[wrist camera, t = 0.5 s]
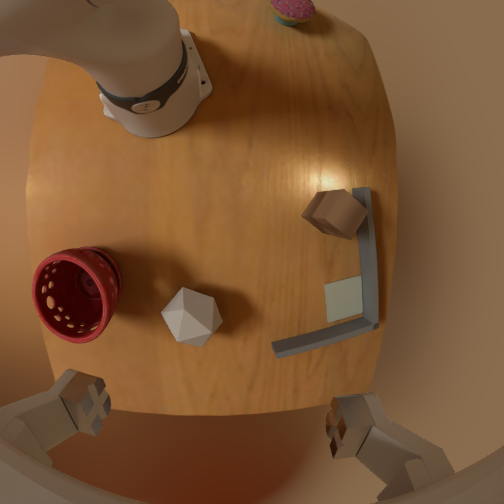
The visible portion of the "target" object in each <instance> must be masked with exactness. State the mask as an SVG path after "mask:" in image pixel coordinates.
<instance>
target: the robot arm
mask: <svg viewBox="0 0 504 504" xmlns="http://www.w3.org/2000/svg"><path fill="white" fill-rule="evenodd" d="M20 54H29V55H41V56H47V57H52V58H57V59H61V60H65V61H68V62H71V63H74V64H76V65H78V66H80V67H82V68H83V69H84V70H85V71H86V72H87V73H89V74H90V75H91V76H92V77H93V78H94V79H95V80H96V83H97V85H98V87H99V89H100V91H101V94H100V99H101V101H102V102H103V103H104V114H105V116H106V117H108V118H110V119H113V120H116V121H118V122H119V123H120V124H121V125H122V126H123V127H124V128H125V129H126V130H128V131H129V132H131V133H132V134H134V135H137V136H140V137H146V138H155V137H161V136H165V135H168V134H170V133H172V132H174V131H176V130H178V129H179V128H181V127H182V126H183V125H184V124H185V123H186V122H187V121H188V120H189V119H190V118H191V117H192V115H193V114H194V112H195V110H196V108H197V107H198V105H199V104H200V102H201V101H203V100H204V99H205V98H206V97H208V96H209V95H210V94H211V93H212V91H213V87H212V84H211V81H210V79H209V77H208V74H207V72H206V69H205V67H204V65H203V62H202V60H201V57H200V55H199V53H198V50H197V48H196V46H195V43H194V41H193V39H192V36H191V34H190V32H189V31H188V30H185V29H180V25H179V17H178V14H177V12H176V10H175V8H174V7H173V6H172V5H171V4H170V3H169V2H168V1H167V0H0V57H2V56H8V55H20ZM201 82H205V84H201ZM105 386H106V385H105V383H104V380H103V379H102V378H99V377H96V376H92V375H89V374H86V373H83V372H79V371H75V370H72V369H68V370H66V371H65V372H64V373H63V375H62V376H61V377H60V378H59V379H58V380H57V382H56V383H55V384H54V385H53V386H52V388H51V389H50V390H49V391H48V392H46V391H44V392H41V393H39V394H36V395H34V396H31V397H28V398H25V399H23V400H20V401H17V402H15V403H12V404H9V405H6V406H3V407H1V408H0V504H147V503H143V502H140V501H136V500H132V499H129V498H126V497H123V496H119V495H116V494H113V493H110V492H108V491H105V490H102V489H99V488H97V487H94V486H91V485H89V484H86V483H84V482H82V481H79V480H77V479H75V478H73V477H70V476H68V475H66V474H64V473H62V472H60V471H58V470H56V469H53V468H52V467H51V465H52V460H51V459H50V457H49V456H48V455H47V453H46V451H48V450H50V449H51V448H53V447H54V446H56V445H57V444H59V443H61V442H63V441H64V440H66V439H67V438H69V437H70V436H72V435H74V434H75V433H77V432H78V431H81V432H84V433H87V434H90V435H94V436H97V434H98V433H99V430H100V429H101V427H102V425H103V424H102V419H104V418H106V417H107V416H108V414H109V412H110V408H111V400H110V397H109V394H108V393H107V392H106V391H105V390H104V388H105ZM330 405H331V408H332V409H331V410H330V411H329V412H328V413H327V417H326V433H327V436H328V437H329V438H331V439H332V441H331V443H330V449H331V453H332V457H333V459H340V458H347V457H355V456H356V458H357V459H358V460H359V461H360V462H361V463H363V464H364V465H365V466H366V467H367V468H368V469H369V470H370V471H372V472H373V473H374V474H375V475H376V476H377V477H378V478H380V479H381V480H382V481H383V482H384V483H385V484H387V486H386V487H385V488H384V489H383V490H382V492H381V493H380V494H379V495H378V496H377V499H378V502H376V503H372V504H504V446H502V447H501V448H499V449H498V450H496V451H495V452H493V453H491V454H490V455H488V456H486V457H485V458H483V459H481V460H480V461H478V462H476V463H474V464H472V465H470V466H469V467H467V468H465V469H463V470H461V471H459V472H457V473H455V471H454V470H453V468H452V466H451V464H450V462H449V460H448V459H447V457H446V455H445V453H444V451H443V450H442V448H440V447H438V446H436V445H434V444H433V443H431V442H429V441H427V440H425V439H423V438H422V437H420V436H418V435H416V434H415V433H413V432H411V431H409V430H408V429H406V428H404V427H403V426H401V425H399V424H397V423H396V422H390V420H389V418H388V416H387V414H386V412H385V410H384V408H383V406H382V404H381V402H380V400H379V398H378V396H377V395H376V393H375V392H369V393H361V394H353V395H344V396H334V397H333V398H332V401H331V404H330Z"/></svg>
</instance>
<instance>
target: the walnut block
mask: <svg viewBox="0 0 504 504" xmlns="http://www.w3.org/2000/svg"><path fill="white" fill-rule="evenodd" d="M368 212H369V211H368V210H367V209H366V208H365V207H364V206H362V205H361V204H360V203H359V202H358V201H357V200H356V199H355V198H354V197H353V196H351V195H350V194H349V193H348V192H347V191H346V190H345V189H341V190H332V191H323V192H317V193H316V195H315V196H314V198H313V199H312V201H311V202H310V204H309V205H308V207H307V208H306V210H305V211H304V212H303V214H302V215H301V216H302V217H303V218H304V219H306V220H307V221H308V222H310V223H311V224H312V225H313V226H315V227H316V228H317V229H319V230H320V231H321V232H322V233H325V234H329V235H333V236H337V237H341V238H345V239H349V240H351V239H352V237H353V236H354V234H355V232H356V231H357V229H358V228H359V226H360V225H361V223H362V221H363V220H364V218H365V216H366V215H367V213H368Z"/></svg>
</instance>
